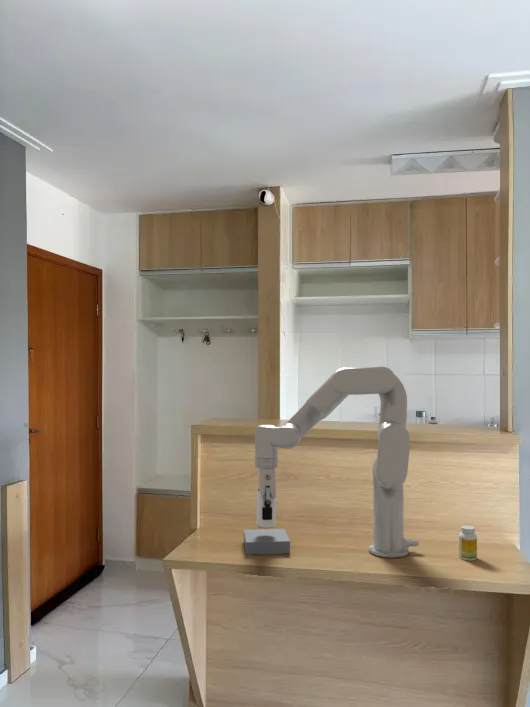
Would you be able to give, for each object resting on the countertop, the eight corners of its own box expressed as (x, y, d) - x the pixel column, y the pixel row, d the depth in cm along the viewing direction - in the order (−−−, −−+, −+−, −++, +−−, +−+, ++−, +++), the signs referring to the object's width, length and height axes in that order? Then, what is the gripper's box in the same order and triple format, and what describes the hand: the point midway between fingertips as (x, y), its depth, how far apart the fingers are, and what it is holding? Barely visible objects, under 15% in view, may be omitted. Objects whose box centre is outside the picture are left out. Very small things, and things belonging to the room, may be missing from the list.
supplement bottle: (455, 556, 183) (455, 525, 183) (470, 554, 184) (470, 524, 184) (465, 561, 177) (465, 530, 177) (480, 560, 179) (480, 528, 179)
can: (273, 529, 187) (273, 492, 187) (254, 528, 189) (254, 491, 189) (277, 523, 194) (277, 487, 194) (258, 522, 195) (258, 487, 195)
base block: (284, 540, 199) (284, 528, 199) (290, 553, 185) (290, 541, 185) (243, 541, 197) (243, 529, 197) (246, 555, 183) (246, 542, 183)
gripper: (280, 466, 183) (280, 523, 183) (274, 458, 200) (274, 510, 200) (257, 467, 183) (256, 524, 182) (253, 458, 200) (253, 510, 199)
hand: (266, 516), depth 191 cm, fingers closed on can, 6 cm apart
